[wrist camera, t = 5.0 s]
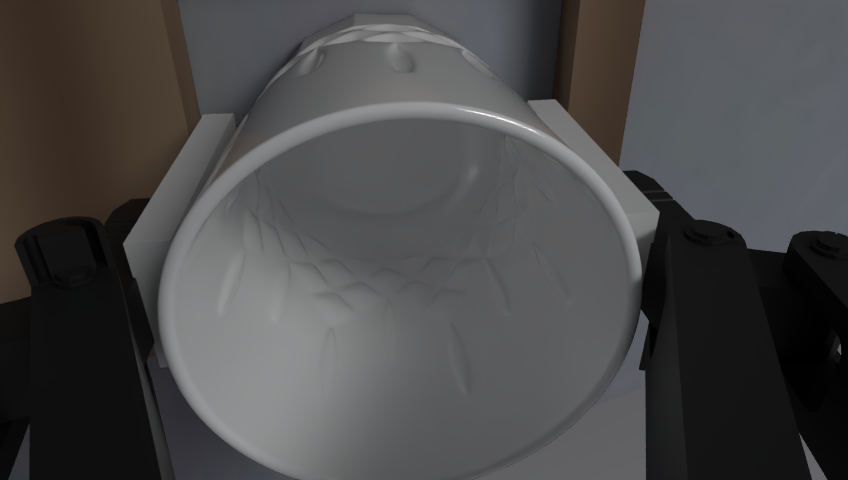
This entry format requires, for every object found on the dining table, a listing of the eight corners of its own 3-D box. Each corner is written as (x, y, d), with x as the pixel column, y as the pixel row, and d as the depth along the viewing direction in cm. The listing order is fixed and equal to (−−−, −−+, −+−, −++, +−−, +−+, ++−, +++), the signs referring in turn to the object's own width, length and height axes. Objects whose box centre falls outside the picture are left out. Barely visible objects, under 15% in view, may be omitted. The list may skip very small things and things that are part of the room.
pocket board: (12, 338, 21) (-10, 368, 20) (-204, -141, 14) (-259, -143, 13) (579, 298, 23) (592, 323, 22) (643, -149, 16) (670, -152, 14)
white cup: (326, 273, 21) (312, 543, 13) (192, 63, 17) (38, 248, 9) (541, 180, 20) (684, 403, 12) (452, -64, 16) (567, 0, 8)
